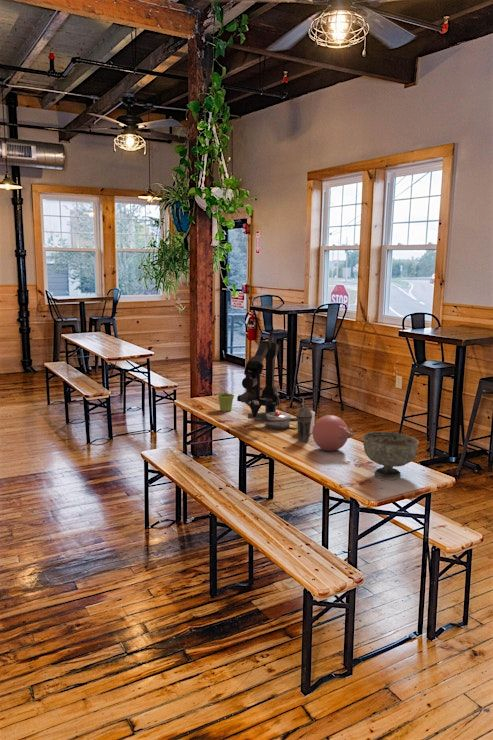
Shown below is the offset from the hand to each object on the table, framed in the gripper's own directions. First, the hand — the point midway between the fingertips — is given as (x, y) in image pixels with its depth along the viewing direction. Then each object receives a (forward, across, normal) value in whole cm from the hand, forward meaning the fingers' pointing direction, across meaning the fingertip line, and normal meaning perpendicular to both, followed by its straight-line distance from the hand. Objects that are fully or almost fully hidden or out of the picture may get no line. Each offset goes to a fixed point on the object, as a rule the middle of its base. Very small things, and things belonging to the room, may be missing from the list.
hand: (254, 417), depth 284 cm
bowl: (+8, +80, -12) cm, 82 cm away
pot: (+6, +6, +11) cm, 13 cm away
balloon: (+7, +49, -3) cm, 49 cm away
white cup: (+6, +22, +13) cm, 26 cm away
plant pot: (+5, -36, +16) cm, 40 cm away
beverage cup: (+7, +30, +1) cm, 30 cm away
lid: (+1, +3, +7) cm, 8 cm away
